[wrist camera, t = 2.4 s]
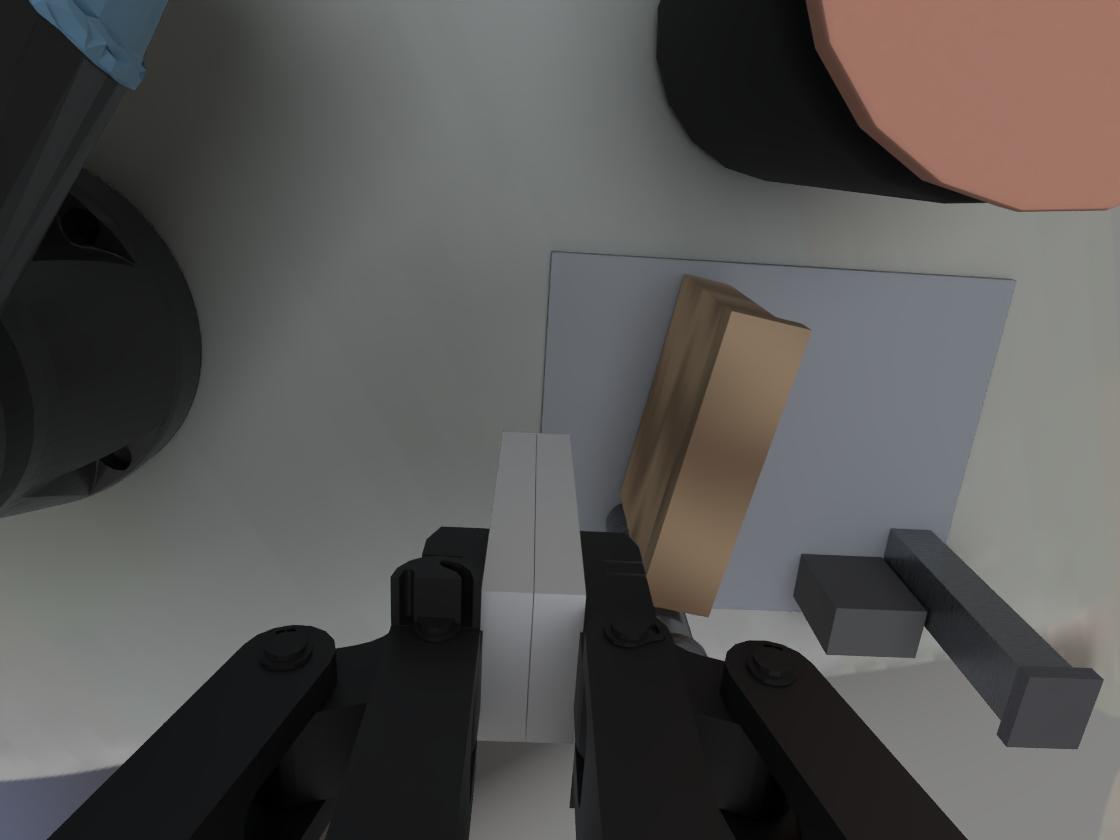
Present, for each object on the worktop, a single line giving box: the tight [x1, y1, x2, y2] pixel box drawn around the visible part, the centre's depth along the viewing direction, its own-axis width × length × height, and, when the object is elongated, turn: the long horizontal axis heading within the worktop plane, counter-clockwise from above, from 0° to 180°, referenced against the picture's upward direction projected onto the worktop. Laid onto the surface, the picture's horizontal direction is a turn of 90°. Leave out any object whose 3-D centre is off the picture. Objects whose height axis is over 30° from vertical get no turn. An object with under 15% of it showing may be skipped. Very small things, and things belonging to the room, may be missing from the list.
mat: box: [541, 251, 1016, 612], centre depth 35 cm, size 20×17×1 cm
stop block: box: [793, 554, 927, 658], centre depth 35 cm, size 4×2×5 cm, turn 87°
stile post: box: [883, 528, 1104, 749], centre depth 31 cm, size 3×3×12 cm
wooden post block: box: [620, 274, 812, 617], centre depth 29 cm, size 11×3×9 cm, turn 166°
